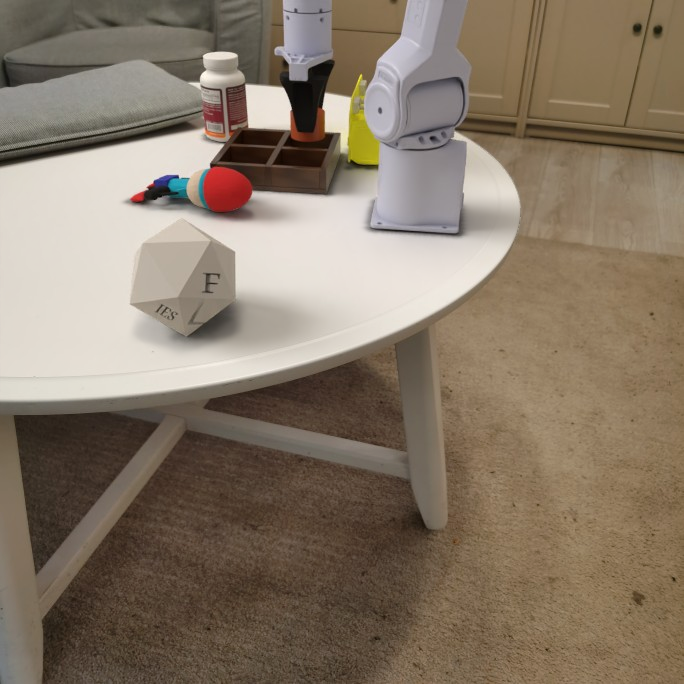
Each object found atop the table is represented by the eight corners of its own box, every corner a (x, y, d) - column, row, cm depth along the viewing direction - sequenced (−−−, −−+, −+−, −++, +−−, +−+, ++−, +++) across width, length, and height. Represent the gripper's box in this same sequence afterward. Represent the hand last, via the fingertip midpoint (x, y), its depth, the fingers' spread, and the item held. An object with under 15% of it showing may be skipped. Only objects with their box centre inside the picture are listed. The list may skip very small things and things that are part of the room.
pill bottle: (246, 128, 105) (241, 49, 99) (251, 141, 100) (246, 59, 94) (203, 130, 104) (196, 50, 97) (206, 144, 99) (198, 61, 92)
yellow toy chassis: (356, 129, 105) (358, 71, 100) (395, 131, 105) (398, 72, 100) (344, 168, 92) (345, 102, 87) (388, 170, 91) (391, 104, 87)
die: (125, 354, 58) (176, 285, 51) (102, 264, 61) (147, 189, 55) (216, 352, 64) (271, 290, 57) (190, 270, 67) (240, 203, 61)
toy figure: (129, 217, 82) (235, 221, 75) (118, 174, 80) (227, 175, 73) (171, 199, 88) (272, 202, 81) (162, 159, 86) (266, 159, 79)
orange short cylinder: (327, 131, 93) (327, 107, 91) (322, 142, 89) (322, 117, 88) (294, 130, 93) (293, 105, 92) (287, 140, 90) (287, 115, 88)
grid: (340, 154, 96) (340, 132, 94) (326, 194, 85) (326, 170, 83) (239, 148, 97) (237, 127, 96) (211, 187, 86) (209, 163, 84)
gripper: (285, -2, 89) (288, 107, 97) (260, 19, 77) (266, 142, 85) (340, 0, 89) (339, 110, 96) (324, 22, 77) (324, 145, 84)
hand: (308, 125), depth 91 cm, fingers closed on orange short cylinder, 4 cm apart
